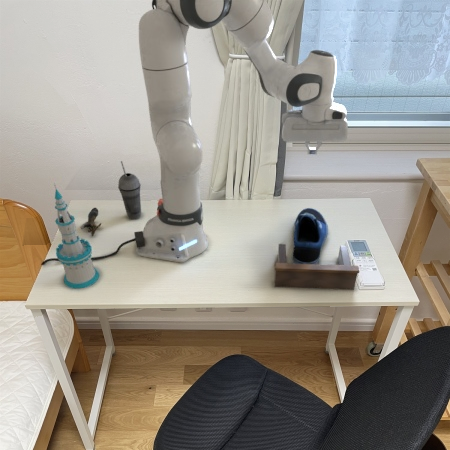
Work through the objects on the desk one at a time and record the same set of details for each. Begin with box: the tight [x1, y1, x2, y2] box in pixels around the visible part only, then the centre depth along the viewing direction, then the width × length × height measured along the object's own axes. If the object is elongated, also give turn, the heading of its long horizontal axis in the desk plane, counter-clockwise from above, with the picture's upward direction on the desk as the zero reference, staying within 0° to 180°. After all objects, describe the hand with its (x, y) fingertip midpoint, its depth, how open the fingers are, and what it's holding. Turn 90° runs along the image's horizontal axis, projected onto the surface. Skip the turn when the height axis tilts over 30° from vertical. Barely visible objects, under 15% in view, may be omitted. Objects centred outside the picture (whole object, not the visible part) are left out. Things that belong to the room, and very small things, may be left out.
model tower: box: [53, 183, 100, 290], centre depth 123 cm, size 10×10×30 cm
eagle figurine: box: [80, 207, 102, 237], centre depth 150 cm, size 8×7×9 cm
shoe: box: [292, 207, 329, 264], centre depth 140 cm, size 11×30×12 cm, turn 168°
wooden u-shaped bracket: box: [274, 243, 360, 291], centre depth 131 cm, size 23×14×7 cm, turn 86°
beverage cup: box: [117, 160, 142, 221], centre depth 151 cm, size 7×7×20 cm
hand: (312, 153), depth 148 cm, fingers closed
